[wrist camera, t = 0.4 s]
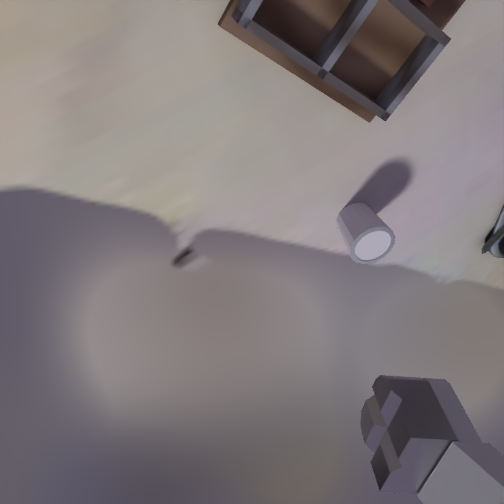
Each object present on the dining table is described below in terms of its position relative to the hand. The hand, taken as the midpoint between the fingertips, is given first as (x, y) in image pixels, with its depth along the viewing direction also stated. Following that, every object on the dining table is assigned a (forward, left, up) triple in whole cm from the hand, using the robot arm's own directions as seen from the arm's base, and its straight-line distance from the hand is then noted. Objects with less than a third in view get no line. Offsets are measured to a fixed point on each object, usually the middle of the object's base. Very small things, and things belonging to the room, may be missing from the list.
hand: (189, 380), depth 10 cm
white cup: (+13, +44, -47) cm, 65 cm away
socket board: (-9, +23, -47) cm, 52 cm away
